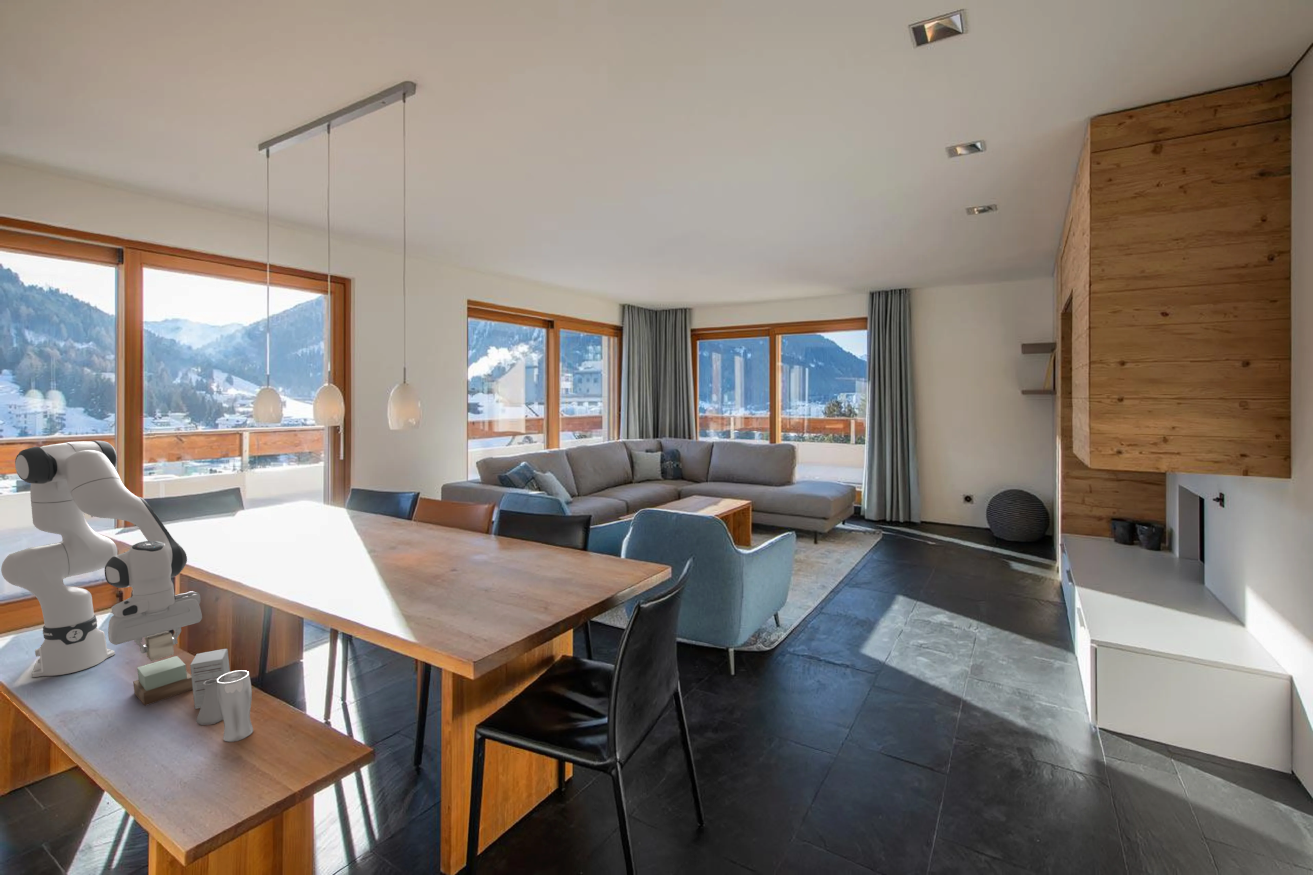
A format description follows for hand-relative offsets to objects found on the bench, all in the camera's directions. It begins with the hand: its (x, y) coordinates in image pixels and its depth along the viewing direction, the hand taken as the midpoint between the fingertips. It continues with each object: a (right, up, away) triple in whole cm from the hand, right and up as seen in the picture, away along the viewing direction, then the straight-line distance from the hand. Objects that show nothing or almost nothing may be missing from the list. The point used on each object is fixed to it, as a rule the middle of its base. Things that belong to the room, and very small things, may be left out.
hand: (159, 647), depth 171 cm
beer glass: (+36, -14, -21) cm, 44 cm away
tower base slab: (0, -13, +2) cm, 13 cm away
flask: (+25, -14, -13) cm, 31 cm away
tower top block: (0, -9, +1) cm, 9 cm away
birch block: (0, -2, 0) cm, 2 cm away
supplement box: (+18, -13, -4) cm, 22 cm away
